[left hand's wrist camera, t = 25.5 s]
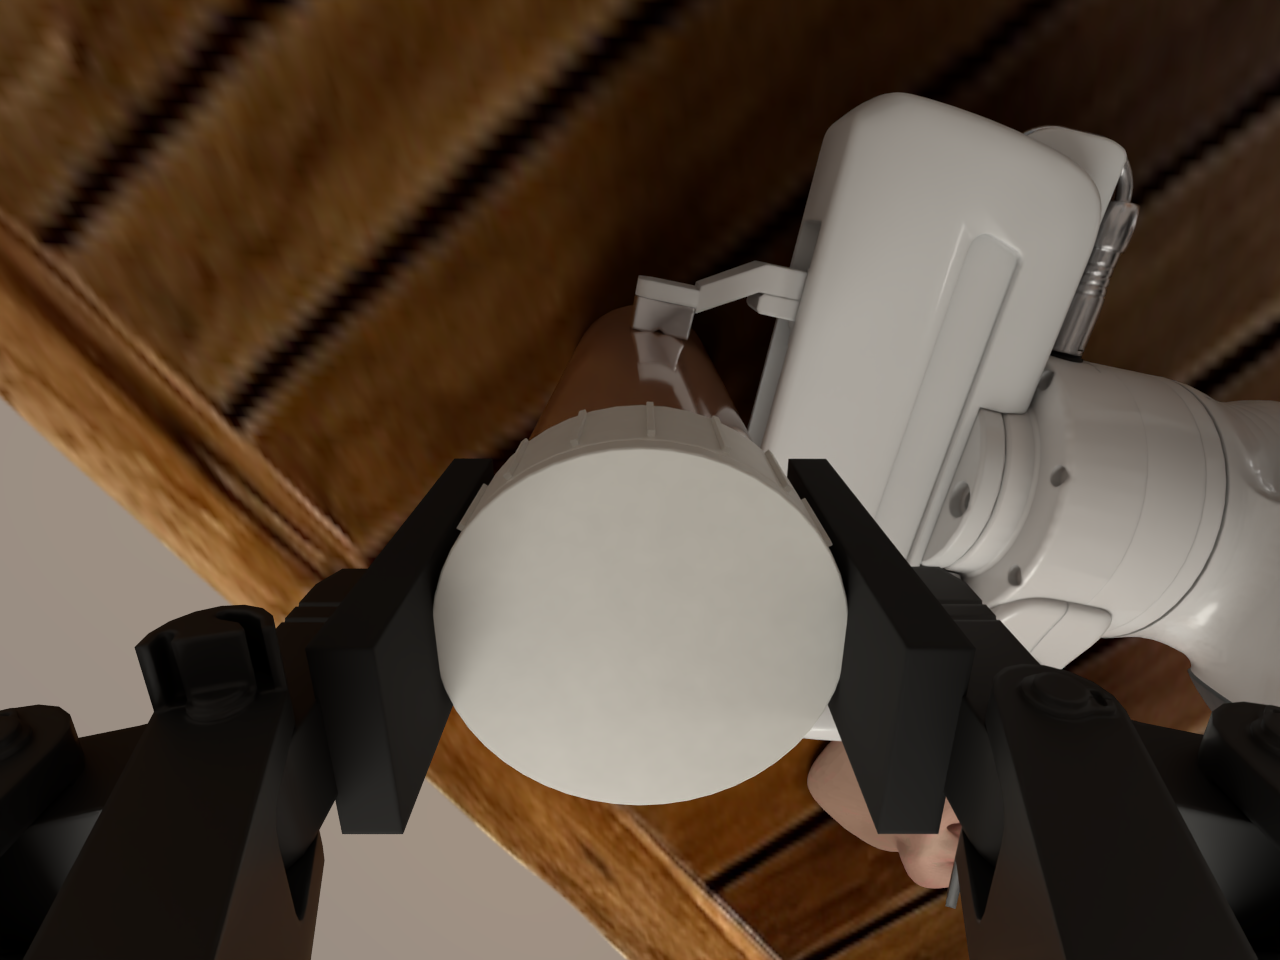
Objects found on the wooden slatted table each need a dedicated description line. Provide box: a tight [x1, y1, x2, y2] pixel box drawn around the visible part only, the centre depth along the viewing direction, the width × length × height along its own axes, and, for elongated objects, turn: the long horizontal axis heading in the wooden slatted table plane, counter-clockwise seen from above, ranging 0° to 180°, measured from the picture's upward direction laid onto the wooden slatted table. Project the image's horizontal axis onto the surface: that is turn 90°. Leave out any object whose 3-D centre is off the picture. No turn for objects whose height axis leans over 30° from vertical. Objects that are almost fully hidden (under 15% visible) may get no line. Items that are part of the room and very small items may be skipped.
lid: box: [433, 402, 848, 805], centre depth 11 cm, size 6×6×2 cm
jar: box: [528, 305, 753, 442], centre depth 19 cm, size 6×6×18 cm
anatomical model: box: [807, 741, 962, 888], centre depth 33 cm, size 13×4×12 cm
